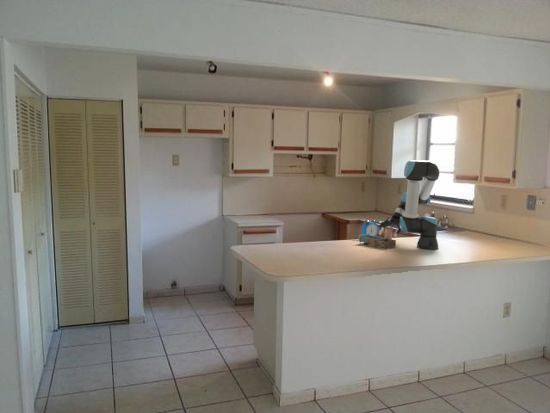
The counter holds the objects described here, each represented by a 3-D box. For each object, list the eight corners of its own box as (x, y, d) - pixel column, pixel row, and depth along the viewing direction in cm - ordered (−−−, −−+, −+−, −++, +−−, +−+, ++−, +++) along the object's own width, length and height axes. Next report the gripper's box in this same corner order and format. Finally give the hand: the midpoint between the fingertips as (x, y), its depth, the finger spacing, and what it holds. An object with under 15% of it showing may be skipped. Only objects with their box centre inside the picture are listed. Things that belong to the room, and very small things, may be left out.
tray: (385, 242, 347) (386, 236, 346) (375, 244, 338) (376, 238, 337) (368, 239, 358) (368, 233, 357) (358, 241, 349) (358, 235, 348)
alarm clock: (364, 239, 370) (365, 220, 369) (360, 237, 376) (361, 219, 374) (378, 238, 375) (379, 220, 374) (374, 237, 381) (374, 219, 379)
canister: (393, 242, 358) (393, 227, 357) (389, 243, 355) (389, 227, 353) (386, 241, 362) (387, 226, 361) (383, 242, 359) (383, 227, 357)
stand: (395, 246, 341) (395, 240, 341) (385, 249, 332) (385, 242, 331) (377, 243, 352) (378, 237, 352) (367, 245, 343) (367, 239, 342)
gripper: (414, 219, 359) (402, 240, 350) (386, 216, 377) (375, 236, 368) (411, 213, 354) (399, 234, 346) (383, 210, 372) (371, 230, 364)
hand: (387, 235), depth 357 cm, fingers open, 13 cm apart
